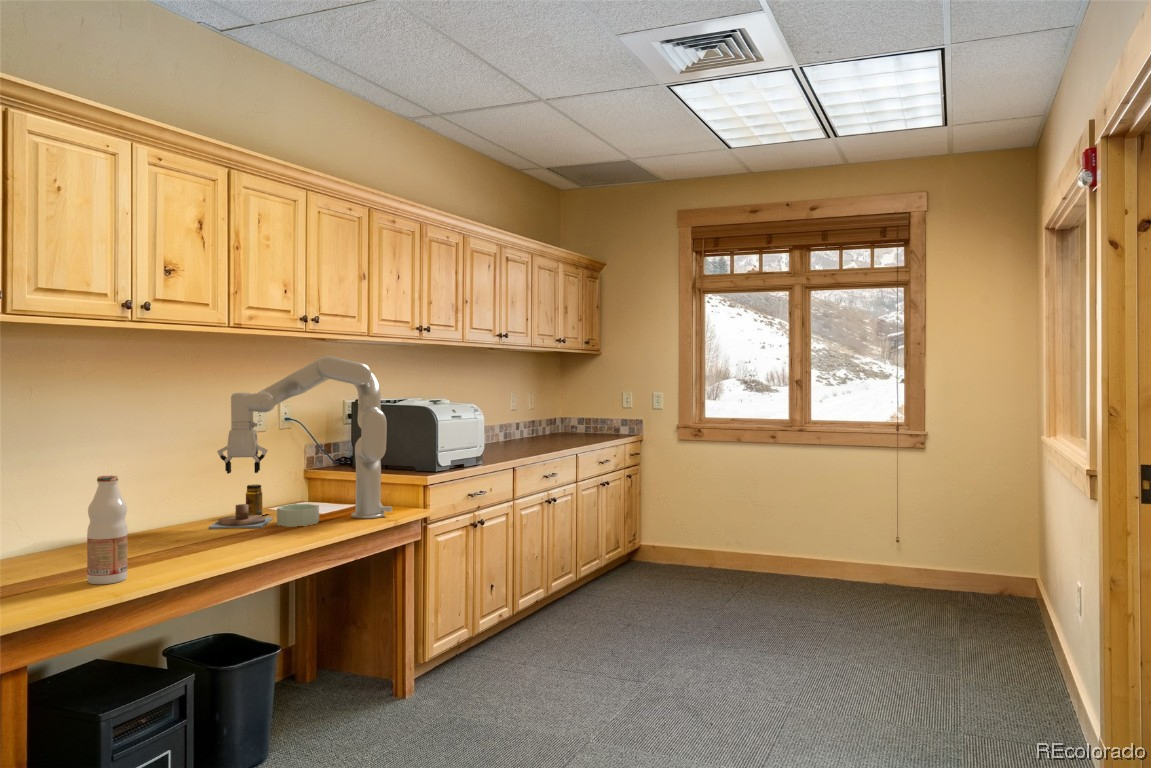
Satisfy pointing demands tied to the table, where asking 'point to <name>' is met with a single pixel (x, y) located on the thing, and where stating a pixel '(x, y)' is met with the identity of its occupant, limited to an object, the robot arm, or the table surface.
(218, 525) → the mat
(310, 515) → the bowl
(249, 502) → the condiment
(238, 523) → the lid
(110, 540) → the fruit juice
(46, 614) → the table surface
